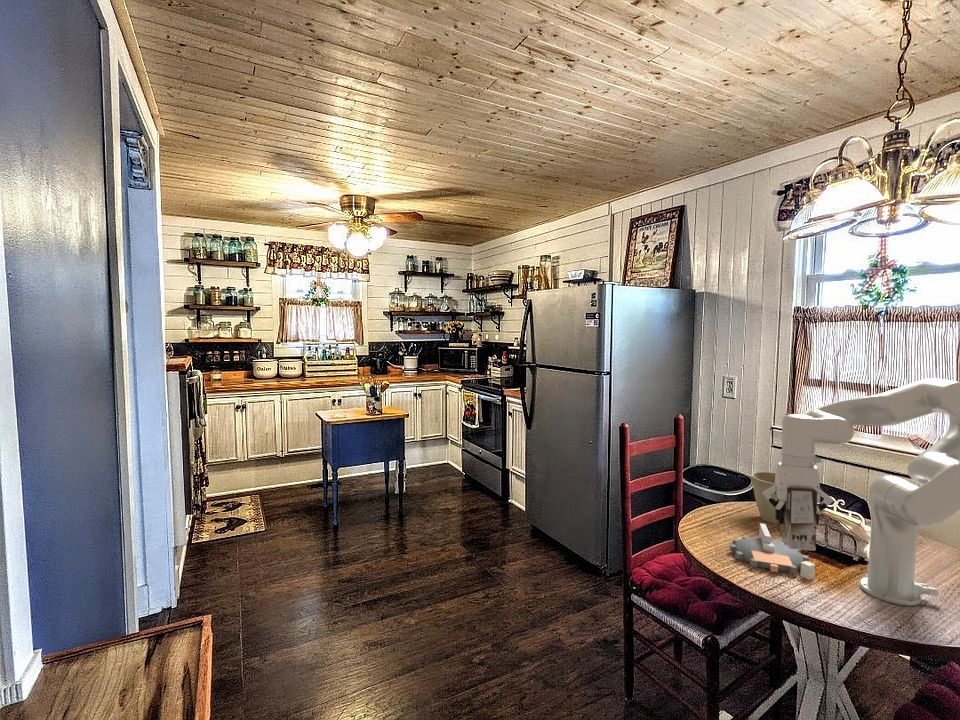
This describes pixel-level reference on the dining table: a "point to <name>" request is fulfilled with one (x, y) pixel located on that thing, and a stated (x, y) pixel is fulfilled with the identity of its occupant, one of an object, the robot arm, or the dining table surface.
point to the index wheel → (768, 552)
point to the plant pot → (760, 485)
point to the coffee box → (799, 519)
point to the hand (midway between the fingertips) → (796, 523)
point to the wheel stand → (807, 570)
